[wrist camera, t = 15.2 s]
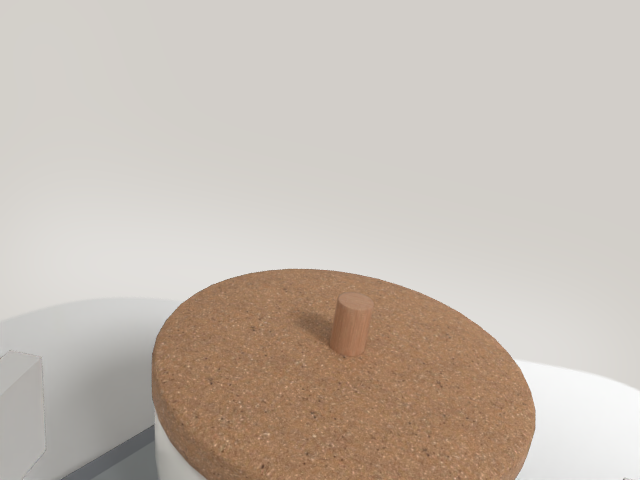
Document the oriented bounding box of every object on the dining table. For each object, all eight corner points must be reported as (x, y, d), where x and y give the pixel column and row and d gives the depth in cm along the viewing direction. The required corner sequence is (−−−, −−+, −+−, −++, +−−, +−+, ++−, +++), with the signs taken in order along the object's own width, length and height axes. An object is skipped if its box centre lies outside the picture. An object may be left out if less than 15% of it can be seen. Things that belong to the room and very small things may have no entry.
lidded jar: (228, 401, 25) (249, 204, 21) (470, 478, 23) (538, 272, 19) (66, 635, 15) (55, 346, 12) (459, 803, 13) (591, 513, 10)
